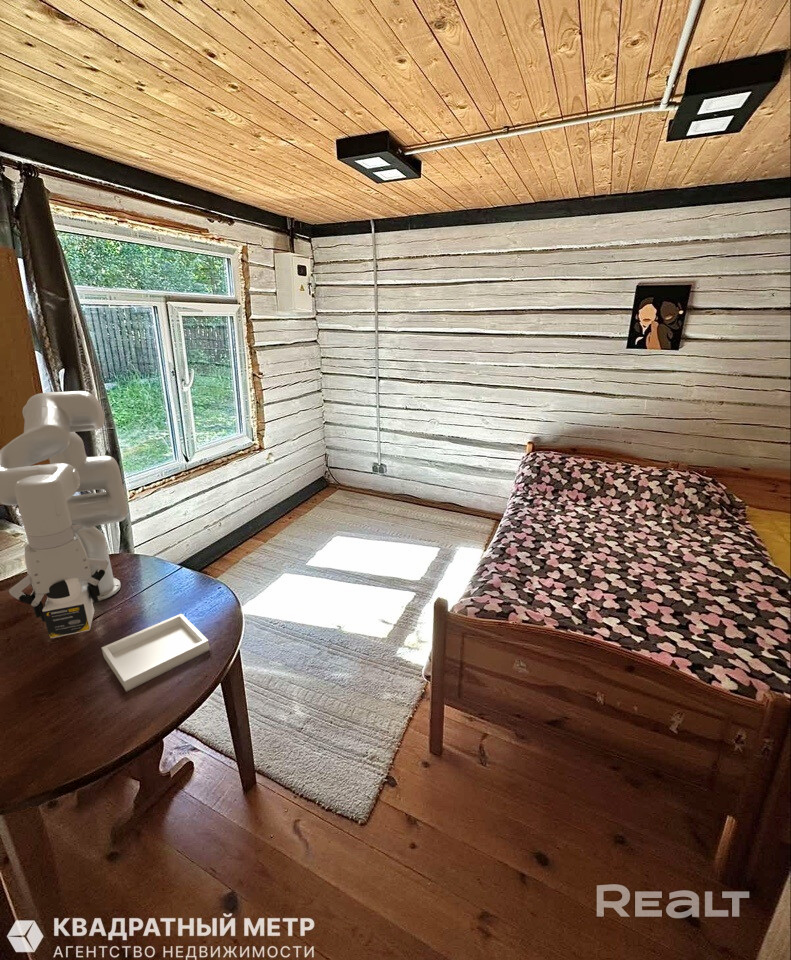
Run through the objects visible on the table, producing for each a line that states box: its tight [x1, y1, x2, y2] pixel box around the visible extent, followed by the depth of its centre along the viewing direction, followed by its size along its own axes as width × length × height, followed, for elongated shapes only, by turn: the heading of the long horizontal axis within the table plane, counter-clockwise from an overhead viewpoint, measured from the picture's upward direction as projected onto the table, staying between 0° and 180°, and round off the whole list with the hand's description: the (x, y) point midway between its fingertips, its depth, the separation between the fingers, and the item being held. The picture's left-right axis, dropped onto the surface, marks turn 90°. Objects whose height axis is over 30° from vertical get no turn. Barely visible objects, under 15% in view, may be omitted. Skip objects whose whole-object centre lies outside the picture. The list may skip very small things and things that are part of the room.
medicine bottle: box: [42, 578, 95, 639], centre depth 98 cm, size 7×7×12 cm
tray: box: [101, 613, 210, 692], centre depth 119 cm, size 16×20×3 cm
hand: (69, 608), depth 100 cm, fingers closed on medicine bottle, 9 cm apart
